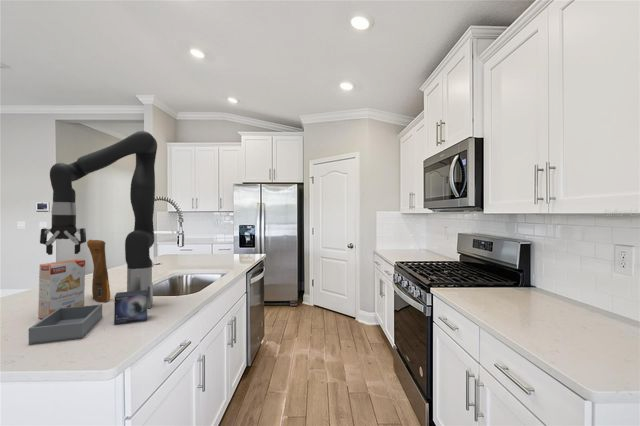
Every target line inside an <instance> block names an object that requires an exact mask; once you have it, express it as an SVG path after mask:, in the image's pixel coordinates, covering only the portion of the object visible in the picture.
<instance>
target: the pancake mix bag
mask: <svg viewBox="0 0 640 426" xmlns="http://www.w3.org/2000/svg"><path fill="white" fill-rule="evenodd" d="M86 246H87V248H88V250H89V252H90V255H91V258H92V264H93V272H92V282H91V283H92V285H91V289H92V290H91V293H92V299H94V300H95V301H96V302H98V303H107V302H109V301H110V300H111V290H110V289H111V288H110V280H109V273H108V268H107V267H108V266H107V258H106V242H105V240H99V239H88V241H87V240H86Z"/></svg>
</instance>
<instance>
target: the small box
mask: <svg viewBox="0 0 640 426" xmlns="http://www.w3.org/2000/svg"><path fill="white" fill-rule="evenodd" d="M147 294H148V290H141V291H130V292H127V291H121V292H119V291H118V292H116V293H115V296H113V297H114V306H113V311H114V313H113V316H114V317H113V325H115V326H116V325H123V324H132V323H140V322H146V321H148V308H147Z"/></svg>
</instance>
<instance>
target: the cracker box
mask: <svg viewBox="0 0 640 426" xmlns="http://www.w3.org/2000/svg"><path fill="white" fill-rule="evenodd" d="M38 274H39V276H38V277H39V278H38V310H37V311H38V319H41V320H42V319H43V318H45V317H46V316H48V315H49V314H51V313H52V312H54V311H55V310H57V309H58V308H65V307H77V306H85V286H86V283H85V280H86V260H85V259H70V260H63V261H55V262H49V263H48V262H47V263H41V264H39V273H38Z"/></svg>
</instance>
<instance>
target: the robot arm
mask: <svg viewBox="0 0 640 426" xmlns="http://www.w3.org/2000/svg"><path fill="white" fill-rule="evenodd" d="M157 151H158V143H157V139H156V138H155V137H154V136H153V135H152V134H151V133H150V132H148V131H144V130H139V131H136V132H133V133H132V134H130V135H129V136H127V137H126V138H123V139H121V140H120V141H117V142H116V143H113V144H111V145H109V146H107V147H104V148H101V149H99V150H95V151H93V152H91V153H88V154H85V155H81V156H80V157H79V158H77V160H76V161H74V162H71V163H69V164H67V163H64V162H63V163H62V162H57V163H55V164H53V165H52V166H51V167H50V170H49V179H50V180H49V181H50V186H51V188H52V206H51V228H47V227H44V228H41V229H40V234H39V235H40V236H39V244H41V245H45V249H46V250H45V252H46V254H47V255H48V256H50V255H53V250H54V249H53V247H54V245H53V243H54V242H56V241H57V240H70V241H72V243H74V244H75V245H74V255H79V253H81V246H82V244H84V243H87V231H86V228H85V227H82V228H77V205H76V190H75V189H74V188H73V184H72V183H73V182H75V181H78V180H81V179H82V178H84V177H86V176H87V175H89V174H91V173H94V172H97V171H100V170H102V169H105V168H107V167H108V166H109V167H110V165H113V164H115V163H116V162H117V161H119V160H120V159H123V158H126V157H128V156H130V155H135V169H134V170H133V175H132V178H131V182H130V190H129V191H130V196H129V197H130V198H129V199H130V204H131V208H132V212H133V215H134V225H133V226H134V228H133V231H131V232H129V233H128V234H127V235H126V237H125V241H124V254H125V255H124V259H125V263H126V268H127V269H126V270H127V271H126V292H130V291H141V290H148V294H147V309H151V308H152V306H153V304H154V303H153V302H154V301H153V299H154V297H153V294H154V292H153V291H154V288H153V287H154V286H153V260H152V259H151V258H150V257H151V256H150V248H152V247H153V244H154V243H155V232H154V231H155V230H154V213H155V196H156V174H155V165H156V164H155V163H156V156H157ZM77 232H78V233H77ZM49 233H51V236H50V238H49V239H48V234H49ZM75 234H79V238H80V239H79V238H78V237H77V236H76V235H75Z"/></svg>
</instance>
